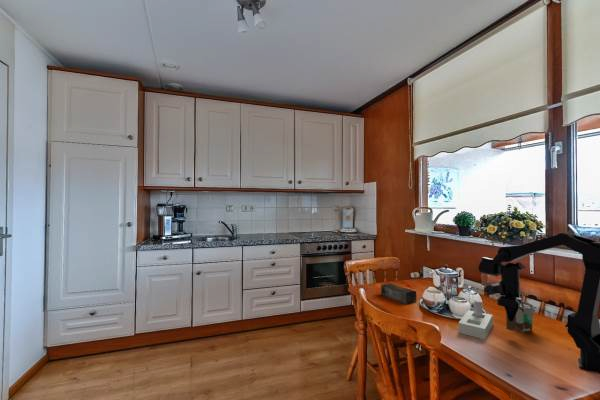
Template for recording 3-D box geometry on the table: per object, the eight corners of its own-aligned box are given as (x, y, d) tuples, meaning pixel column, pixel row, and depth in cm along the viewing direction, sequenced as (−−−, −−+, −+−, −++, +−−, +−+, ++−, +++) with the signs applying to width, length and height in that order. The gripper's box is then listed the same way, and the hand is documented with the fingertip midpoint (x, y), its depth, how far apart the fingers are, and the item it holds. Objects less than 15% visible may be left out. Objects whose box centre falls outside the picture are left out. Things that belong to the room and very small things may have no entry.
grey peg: (482, 327, 118) (481, 303, 118) (473, 325, 120) (473, 301, 120) (483, 324, 120) (482, 301, 120) (475, 322, 122) (474, 299, 122)
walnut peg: (515, 331, 106) (515, 304, 106) (506, 329, 108) (505, 303, 108) (516, 328, 108) (515, 302, 108) (507, 326, 110) (506, 301, 110)
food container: (543, 335, 109) (542, 309, 109) (525, 334, 110) (524, 308, 111) (524, 322, 121) (524, 299, 122) (508, 321, 123) (508, 298, 123)
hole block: (485, 339, 107) (485, 328, 107) (458, 332, 113) (458, 322, 113) (492, 324, 120) (492, 315, 120) (468, 318, 126) (468, 310, 126)
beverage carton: (390, 293, 166) (390, 281, 166) (417, 302, 149) (417, 290, 149) (380, 295, 162) (380, 283, 162) (407, 305, 145) (406, 292, 145)
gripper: (489, 271, 121) (490, 308, 120) (480, 280, 107) (481, 321, 106) (522, 275, 113) (523, 314, 113) (517, 285, 99) (519, 330, 99)
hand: (511, 319), depth 108 cm, fingers closed on walnut peg, 3 cm apart
